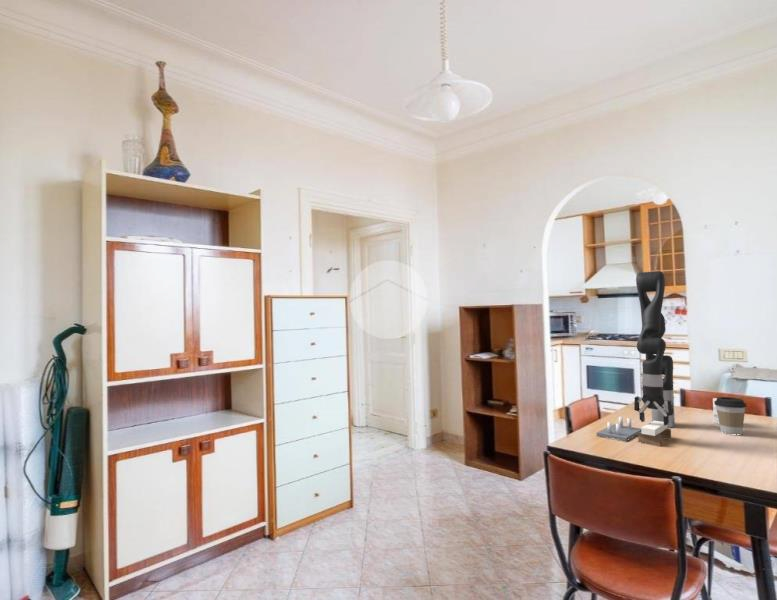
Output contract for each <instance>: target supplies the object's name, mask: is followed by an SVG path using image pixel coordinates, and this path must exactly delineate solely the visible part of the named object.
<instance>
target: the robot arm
mask: <svg viewBox="0 0 777 600" xmlns="http://www.w3.org/2000/svg"><path fill="white" fill-rule="evenodd" d="M664 274H665V273H664V272H663V271H661V270H656V271H642V272H638V273H637V274H636V277H635V282H636V290H637V294H638V300H639V305H640V307H639V308H640V314H641V315H640V317H641V331H640V335H639V337H638V340H637V343H636V350H637V351H638V353H640V354H642V355H643V354H644V355H645V359H644V360H642V363H641V365H642V378H641V379H642V381H641V384H642V396H641V397H640V396H638V395H637V396H635V397H634V403H633V405H634V407H633V408H634V409H633V410H634V411H636V412H638V414H639V421H640V422H641V423H645V421H646V420H645V419H646V418H645V411H646V410H647V409H649V410H651V422H652V421H661V422H664V425H667V428H674V427H676V421H675V398H674V397H675V396H674V361H673V357H672V356H671V355H667V354H665V352H666V349H667V348H666V347H667V343H666V340H664V339H663V337H664V335H665V333H666V330H667V329H666V319H665V316H664V315H663V313H662V308H663V303H664V296H665V291H666V290H665V289H666V288H665V287H666V278H665V275H664ZM653 292H655V294H654V297H653V299H652V300H651V299H650V298H649V296H648V293H653ZM664 354H665V355H664ZM663 376H664V377H663ZM641 402H643V405H642V406H641V407H640V403H641Z"/></svg>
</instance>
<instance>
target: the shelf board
mask: <svg viewBox="0 0 777 600" xmlns="http://www.w3.org/2000/svg"><path fill="white" fill-rule="evenodd" d="M640 428H641V433H642V434H647V435H652V436H656V435H657V434H659V433H661V432H662V431H664V430H665V429H668V427H667V425H664V422H661V421H652V420H651V421H650V422H649V423H647V424H645V425H643V426H641V427H640Z"/></svg>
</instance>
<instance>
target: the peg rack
mask: <svg viewBox="0 0 777 600" xmlns="http://www.w3.org/2000/svg"><path fill="white" fill-rule="evenodd" d="M626 422H627V423H626V424H627V425H624V418H623V417H622V416H618V423H613V424H612V422H610V421H607V423H606V424H607V426H606V428H604V429H601V430H600V431H598V432H596V437H599V436H601V437H600V438H604V437H608V438H607V439H609V438H614V439H619V440H618V441H620V440H624V441H623V442H625V441H626V442H628V441H629V440H628V439H630V438H631V439H633V438H635V437H637V436H638V432H641V427H635V426H632V418H630V417H628V418H626ZM636 435H637V436H636ZM634 436H635V437H634ZM632 437H633V438H632ZM614 439H613V440H614ZM631 439H630V440H631ZM627 440H628V441H627Z"/></svg>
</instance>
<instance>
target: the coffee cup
mask: <svg viewBox="0 0 777 600" xmlns="http://www.w3.org/2000/svg"><path fill="white" fill-rule="evenodd" d="M716 398H717V400H716V401H715V403H714V404H715V405H716V408H717V414H718V419H719V424H718V425H719V428H720V431H722V432H723V433H722V432H721V433H722V434H724V433H727V434H726V435H728V434H736V435H735V436H738V435H737V434H742V435H743V432H744V431H743V430H744V422H745V412H746V407H747V403H746V402H745V401H744V400H743V399H742V398H739V397H738V398H736V397H729V396H719V397H716Z"/></svg>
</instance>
